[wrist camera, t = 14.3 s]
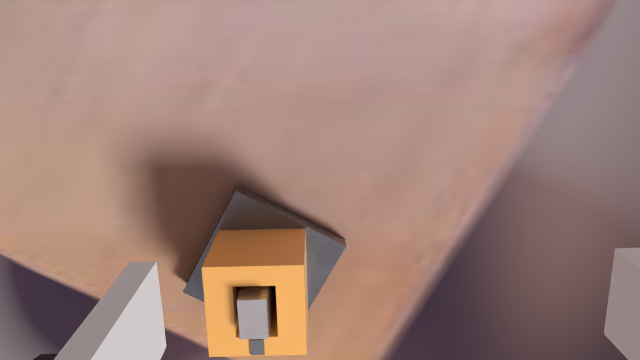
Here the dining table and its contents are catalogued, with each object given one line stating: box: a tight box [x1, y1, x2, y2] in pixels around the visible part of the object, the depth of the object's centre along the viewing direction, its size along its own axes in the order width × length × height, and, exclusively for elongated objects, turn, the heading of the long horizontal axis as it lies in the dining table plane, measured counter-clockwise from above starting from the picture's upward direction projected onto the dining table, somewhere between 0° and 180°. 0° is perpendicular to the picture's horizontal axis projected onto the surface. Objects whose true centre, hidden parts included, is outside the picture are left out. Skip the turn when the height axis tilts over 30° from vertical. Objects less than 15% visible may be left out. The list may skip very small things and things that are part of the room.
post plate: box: [183, 186, 346, 340], centre depth 42 cm, size 10×10×10 cm
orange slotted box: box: [202, 228, 308, 357], centre depth 42 cm, size 7×7×7 cm
